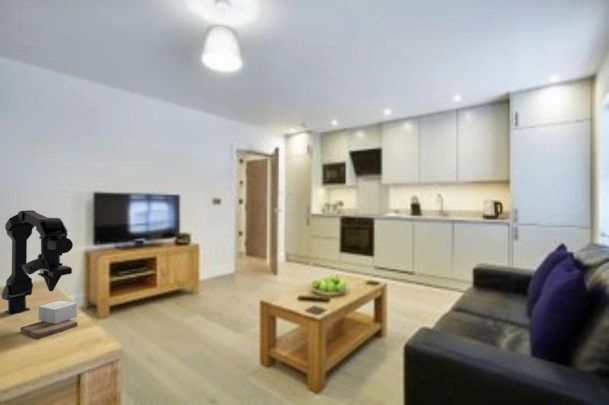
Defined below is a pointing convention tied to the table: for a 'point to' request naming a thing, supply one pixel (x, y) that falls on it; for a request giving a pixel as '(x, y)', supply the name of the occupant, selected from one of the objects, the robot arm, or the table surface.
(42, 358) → the table surface
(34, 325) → the floor panel
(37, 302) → the table surface
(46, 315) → the small box
